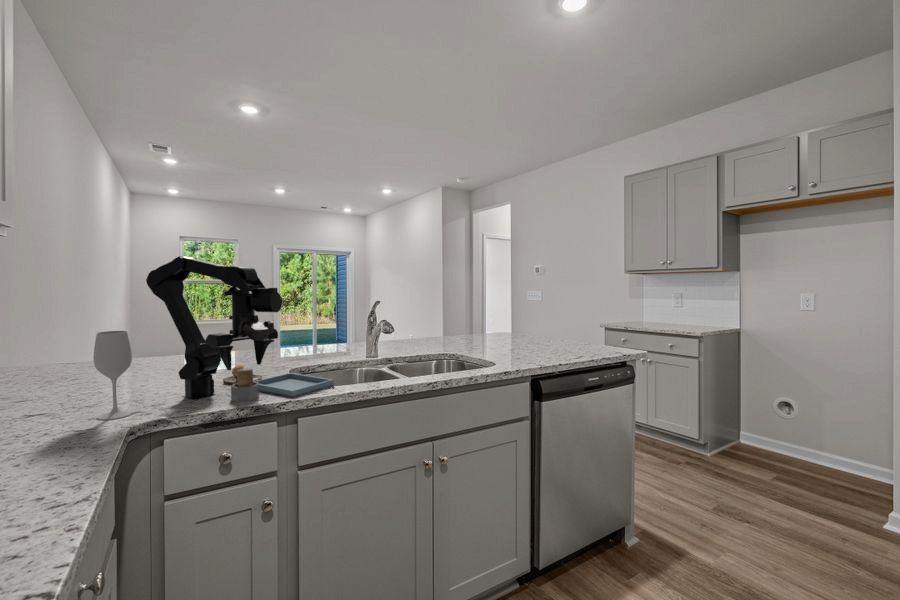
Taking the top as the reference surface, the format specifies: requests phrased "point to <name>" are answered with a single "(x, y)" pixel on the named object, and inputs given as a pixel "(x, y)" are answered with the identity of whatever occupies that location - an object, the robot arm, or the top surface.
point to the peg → (244, 377)
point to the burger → (233, 378)
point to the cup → (245, 392)
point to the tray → (293, 384)
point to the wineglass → (113, 364)
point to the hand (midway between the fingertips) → (244, 367)
